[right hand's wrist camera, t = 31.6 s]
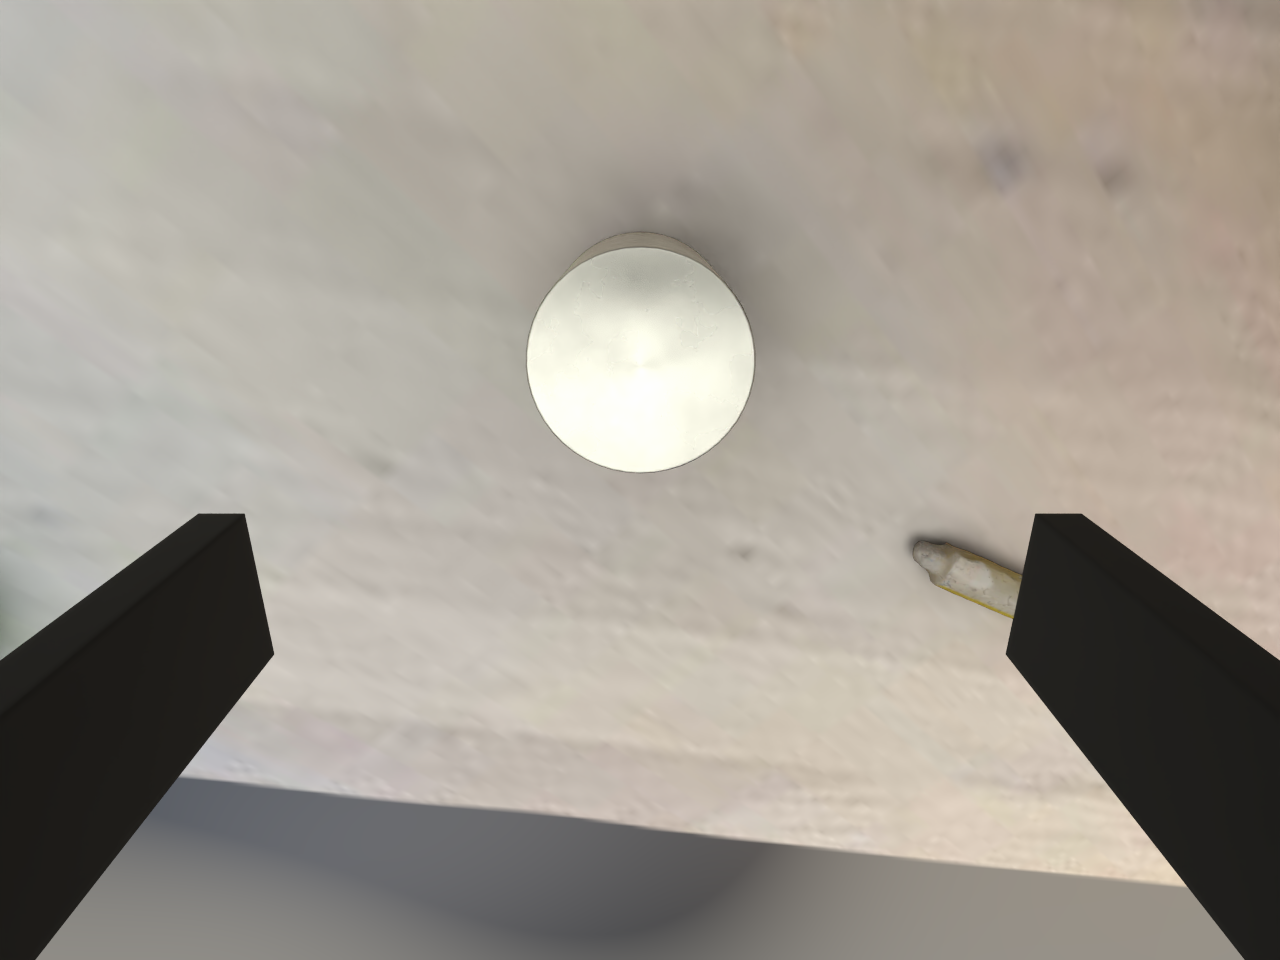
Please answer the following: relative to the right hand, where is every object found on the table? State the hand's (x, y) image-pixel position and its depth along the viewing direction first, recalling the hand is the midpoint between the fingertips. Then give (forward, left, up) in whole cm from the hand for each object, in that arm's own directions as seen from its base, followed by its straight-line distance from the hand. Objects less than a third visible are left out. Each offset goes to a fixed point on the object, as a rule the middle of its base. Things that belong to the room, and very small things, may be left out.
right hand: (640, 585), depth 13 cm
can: (0, 0, -26) cm, 26 cm away
